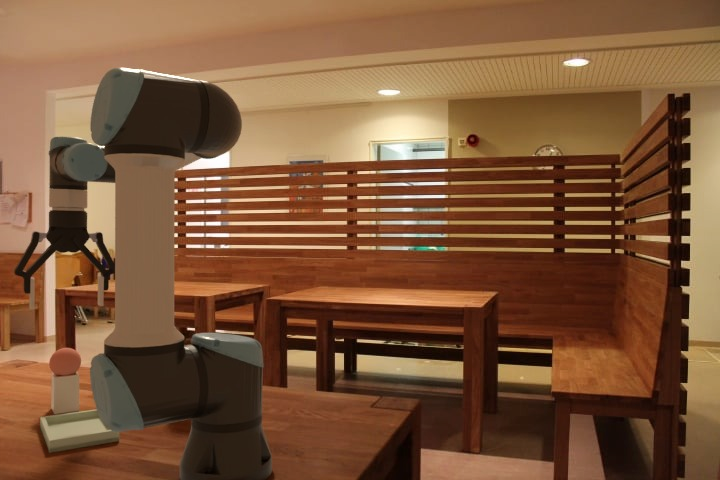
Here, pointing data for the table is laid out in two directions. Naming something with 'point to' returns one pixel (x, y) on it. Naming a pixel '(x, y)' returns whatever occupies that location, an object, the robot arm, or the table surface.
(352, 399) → the table surface
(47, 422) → the tray
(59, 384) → the hollow square tube
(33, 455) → the table surface
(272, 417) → the table surface
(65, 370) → the ball
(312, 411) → the table surface
